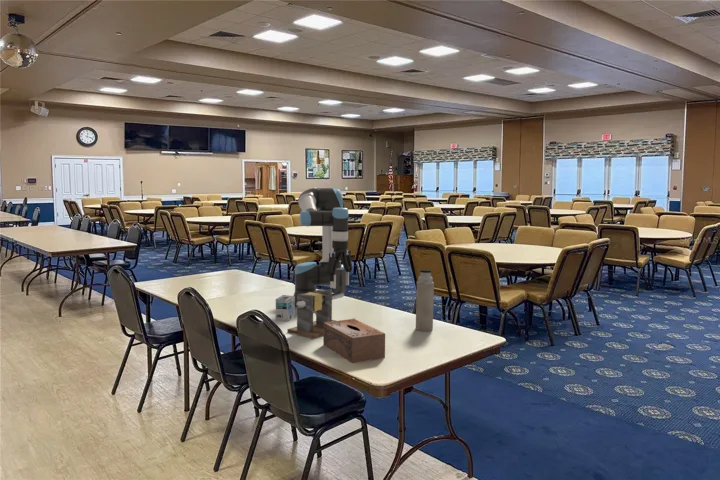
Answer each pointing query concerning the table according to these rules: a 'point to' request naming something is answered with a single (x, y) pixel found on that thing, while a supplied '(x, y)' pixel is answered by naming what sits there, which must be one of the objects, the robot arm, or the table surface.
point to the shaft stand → (306, 316)
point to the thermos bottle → (424, 301)
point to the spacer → (316, 301)
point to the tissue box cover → (354, 340)
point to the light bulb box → (285, 307)
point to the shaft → (339, 289)
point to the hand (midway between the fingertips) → (339, 286)
